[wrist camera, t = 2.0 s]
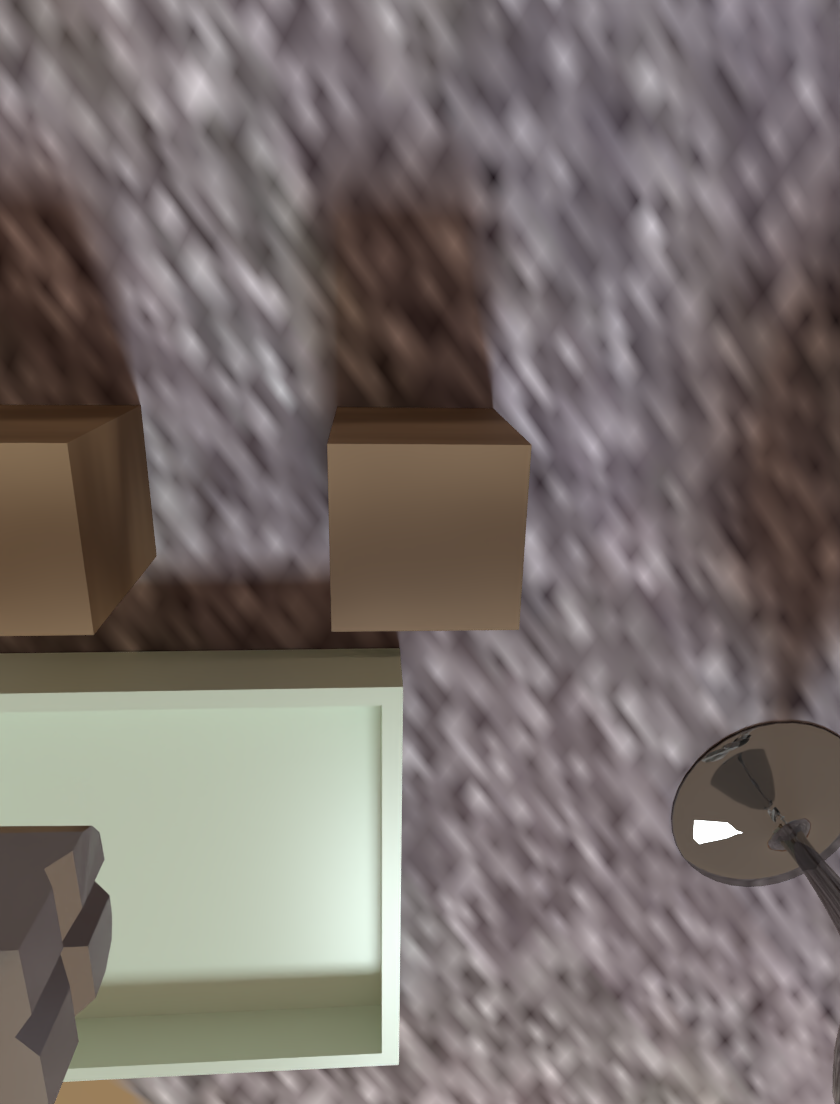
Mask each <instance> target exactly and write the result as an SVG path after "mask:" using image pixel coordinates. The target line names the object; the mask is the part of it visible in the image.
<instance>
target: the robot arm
mask: <svg viewBox="0 0 840 1104" xmlns="http://www.w3.org/2000/svg"><path fill="white" fill-rule="evenodd" d="M104 860H105V859H104V853H103V848H102V842H101V837H100V832H99V831H98V830H96V829H95V828H94V827H93V826H0V1104H54V1103H55V1100H56V1098H57V1095H58V1093H59V1090H60V1088H61V1085H62V1083H63V1080H64V1077H65V1075H66V1072H67V1070H68V1067H69V1065H70V1062H71V1060H72V1057H73V1055H74V1052H75V1050H76V1047H77V1045H78V1042H79V1040H78V1033H77V1027H76V1021H75V1016H76V1015H77V1014H78V1013H79V1012H80V1011H82V1010H83V1009H84V1008H85V1007H86V1006H87V1005H88V1004H90V1003H91V1002H92V1001H93V1000H94V999H95V998H96V996H97V993H98V991H99V988H100V985H101V982H102V980H103V977H104V974H105V972H106V967H107V961H108V956H109V951H110V946H111V941H112V910H111V902H110V895H109V894H108V893H107V892H106V891H105V890H104V889H103V888H102V887H101V886H100V885H99V884H97V883H96V882H95V879H96V877H97V875H98V873H99V870H100V868H101V866H102V864H103V862H104Z"/></svg>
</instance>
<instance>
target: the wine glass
mask: <svg viewBox="0 0 840 1104" xmlns="http://www.w3.org/2000/svg"><path fill="white" fill-rule="evenodd" d="M671 820H672V833H673V836H674V840H675V843H676V846H677V847H678V849H679V851H680V853H681V855H682V856H683V858H684V859H685V860H686V861H687V862H688V863H689V864H690V865H691V866H692V867H693V868H694V869H696V870H697V871H698V872H700V873H701V874H702V875H704V876H706V877H708V878H710V879H713V880H715V881H717V882H721V883H724V884H728V885H733V886H743V887H754V886H766V885H771V884H777V883H780V882H783V881H787V880H790V879H793V878H795V877H797V876H799V875H802V874H805V876H806V877H807V879H808V880H809V882H810V884H811V885H812V887H813V888H814V890H815V891H816V893H817V895H818V897H819V898H820V900H821V902H822V904H823V905H824V907H825V909H826V911H827V912H828V914H829V916H830V918H831V920H832V922H833V924H834V925H835V927H836V929H837V931H838V933H839V936H840V877H839V876H838V875H837V874H836V873H835V872H834V871H833V870H832V868H831V867H830V866H829V865H828V864H827V863H826V862H825V860H826V859H827V858H828V857H830V856H831V855H832V854H833V853H834V852H835V851H836V850H837V849H838V848H839V847H840V737H838V736H837V735H835V734H833V733H831V732H830V731H828V730H826V729H824V728H820V727H817V726H814V725H811V724H805V723H798V722H776V723H770V724H765V725H759V726H756V727H753V728H750V729H747V730H744V731H741V732H739V733H737V734H735V735H733V736H731V737H729V738H727V739H725V740H724V741H722V742H721V743H719V744H718V745H716V746H715V747H713V748H712V749H710V750H709V751H708V752H707V753H706V754H705V755H704V756H703V757H702V758H701V759H700V760H698V761H697V762H696V764H695V765H694V766H693V767H692V769H691V770H690V771H689V772H688V774H687V775H686V777H685V779H684V780H683V782H682V784H681V786H680V787H679V789H678V792H677V795H676V798H675V801H674V804H673V810H672V817H671ZM832 1093H833V1098H834V1103H835V1104H840V1024H839V1028H838V1033H837V1038H836V1043H835V1048H834V1060H833V1085H832Z"/></svg>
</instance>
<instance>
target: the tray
mask: <svg viewBox="0 0 840 1104" xmlns="http://www.w3.org/2000/svg"><path fill="white" fill-rule="evenodd" d="M402 731H403V681H402V670H401V658H400V648H370V649H295V650H220V651H146V652H71V653H0V826H93V827H94V828H95V829H96V830H98V831H99V832H100V837H101V842H102V848H103V853H104V859H105V860H104V862H103V864H102V866H101V868H100V870H99V873H98V875H97V877H96V879H95V882H96V883H97V884H99V885H100V886H101V887H102V888H103V889H104V890H105V891H106V892H107V893H108V894H109V895H110V902H111V910H112V941H111V946H110V951H109V956H108V961H107V967H106V972H105V974H104V977H103V980H102V982H101V985H100V988H99V991H98V993H97V996H96V998H95V999H94V1000H93V1001H92V1002H91V1003H90V1004H88V1005H87V1006H86V1007H85V1008H84V1009H83V1010H82V1011H80V1012H79V1013H78V1014H77V1015H76V1016H75V1021H76V1027H77V1033H78V1040H79V1042H78V1045H77V1047H76V1050H75V1052H74V1055H73V1057H72V1060H71V1062H70V1065H69V1067H68V1070H67V1072H66V1075H65V1077H64V1080H63V1082H66V1081H86V1080H106V1079H126V1078H146V1077H165V1076H185V1075H205V1074H225V1073H245V1072H265V1071H284V1070H304V1069H324V1068H344V1067H364V1066H383V1065H399V996H400V908H401V819H402Z"/></svg>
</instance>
